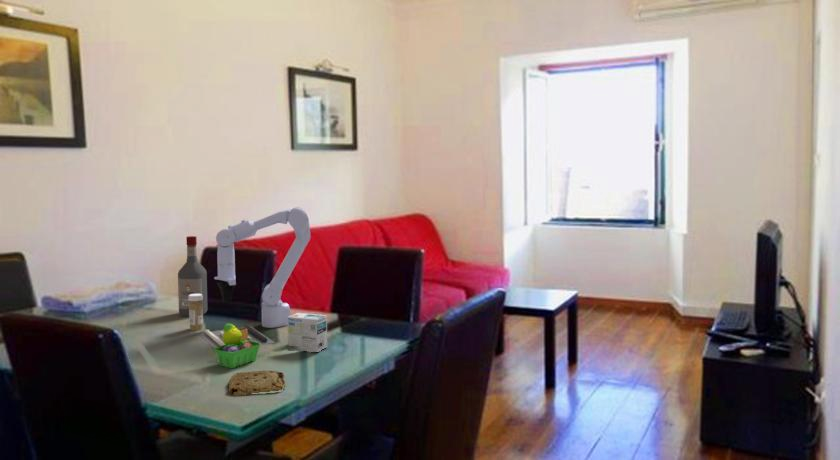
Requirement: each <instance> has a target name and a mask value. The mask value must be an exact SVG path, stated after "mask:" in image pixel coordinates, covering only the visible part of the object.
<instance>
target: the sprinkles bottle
mask: <svg viewBox="0 0 840 460" xmlns="http://www.w3.org/2000/svg"><path fill="white" fill-rule="evenodd" d="M188 300H189V316H188V318H189V320H188V321H189V322H188V323H189V331H193V332H195V331H202V330H203V329H204V318H203V317H204V314H203V310H202V300H203V295H202V294H190V295H189V296H188Z"/></svg>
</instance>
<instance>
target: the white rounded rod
mask: <svg viewBox="0 0 840 460" xmlns="http://www.w3.org/2000/svg"><path fill="white" fill-rule="evenodd" d="M204 332H205V333H206V334H207V335H208V336H209V337H210V338H212V339H213V340H214V341H215V342H216V343H217V344H218V345H220V346H223V345H225V343H223V342H222V341H221V340H220V339H219V338H218V337H216V336H215V335H214V334H213V333H212V332H211V331H210V329H205V330H204Z"/></svg>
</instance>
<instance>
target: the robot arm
mask: <svg viewBox="0 0 840 460" xmlns="http://www.w3.org/2000/svg"><path fill="white" fill-rule="evenodd" d="M277 224H283V225H287V224H289V225H290V226H291V228H292V229H293V231H294V234H295V239H294V240H293V242H292V244H291V246H290V248H289V249H288V251H287V254H286V255H285V257H284V259H283V261H282V262H281V263H280V266H279V268H278V270H276V273H275V275H274V276H273V278H272V280H271V281H270V283H268V284H266V285H265V286H264V289H263V292H262V294H261V300H262V302H261V327H264V328H269V329H270V328H278V327H284V326H288V316H291V308H290V304H288V303H287V302H283V301H282V299H281V296H282V293H283V289H284V287H285V285H286V283H287V282H288V279H289V278H290V276H291V274H292V272H293V271H294V268H295V267H296V266H297V264H298V262H299V260H300V258H301V256H302V255H303V253H304V251H305V249H306V247H307V245H308V244H309V242H310V241H311V230H310V229H311V228H310V219H309V216H308V214H307V212H306V211H305V209H303V208H302V207H299V206H296V207H293V208H291V209H290V208H288V209H284V210H280V211H278V212H275V213H273V214H271V215H267V216H265V217H263V218H260V219H257V220H256V221H252V220H250V219H247V220H246V219H243V220H240V222H239V223H236V224H234V225H228V226H227V228H222V229H221V230H220V231H218V232H217V234H216V236H215V241H216V243H217V251H216V252H217V253H216V255H217V257H216V258H217V259H216V260H217V261H216V262H217V276H214V278H213V279H214V280H217V282H216V285H217V286H218V288H219V291H220V295H221V299H222V302H223V303H224V304H228V303H231V301H232V297H233V294H234V290H235V288H236V286H237V282H236V277H237V276H236V262H235V261H236V258H235V257H236V256H235V255H236V254H235V243H234V242H236V243H239V242H241V241H244V240H246V239H250V238H252V237H253V236H255V235H256V233H257V232H258V231H260V230H262V229H264V228H268V227H271V226H273V225H277ZM218 280H219V281H218ZM220 281H221V282H220Z"/></svg>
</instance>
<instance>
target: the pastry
mask: <svg viewBox="0 0 840 460" xmlns="http://www.w3.org/2000/svg"><path fill="white" fill-rule="evenodd" d="M284 374H285V373H284V372H281V371H276V370H253V371H252V370H251V371H241V372H236V373H235V374H233V375H232V376H231V377H230V379H229V380H228V383H229V387H228V395H230V396H233V397H234V396H237V397H239V396H246V395H245V394H252V393H259V392H270V391H279V390H282V389H283V388H284V386H285V387H286V382H285V375H284ZM238 395H239V396H238Z"/></svg>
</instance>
